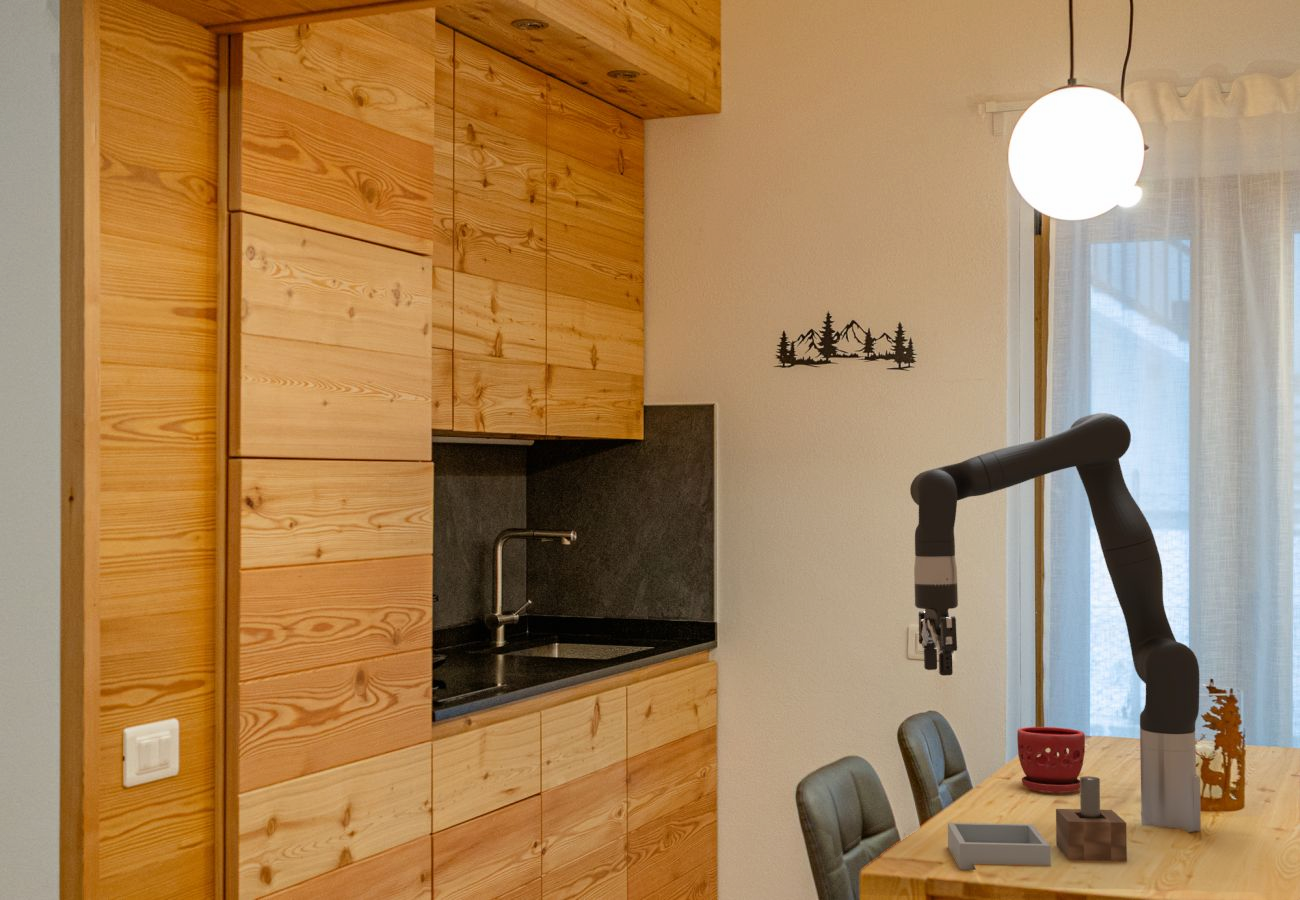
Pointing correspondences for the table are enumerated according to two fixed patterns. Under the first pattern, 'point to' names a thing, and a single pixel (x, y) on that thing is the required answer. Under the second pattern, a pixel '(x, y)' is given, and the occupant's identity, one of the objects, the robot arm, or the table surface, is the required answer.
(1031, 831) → the tray
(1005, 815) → the table surface
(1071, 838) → the pin block
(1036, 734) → the plant pot
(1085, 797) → the pin
